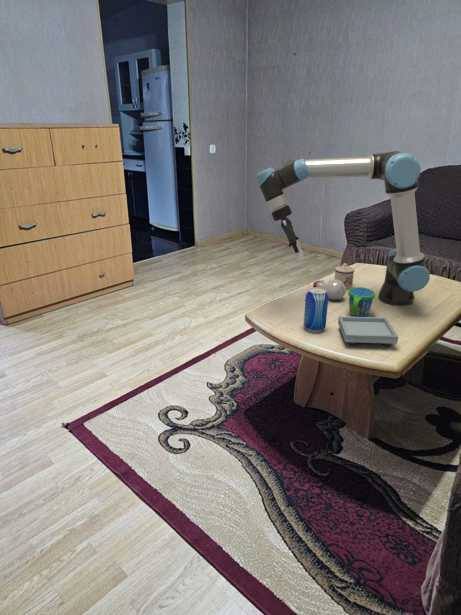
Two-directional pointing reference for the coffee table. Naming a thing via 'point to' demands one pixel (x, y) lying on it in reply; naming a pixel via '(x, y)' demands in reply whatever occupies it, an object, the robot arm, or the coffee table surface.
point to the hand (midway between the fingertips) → (300, 258)
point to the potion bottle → (332, 288)
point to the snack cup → (360, 301)
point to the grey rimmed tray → (367, 330)
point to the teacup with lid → (345, 275)
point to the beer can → (315, 310)
